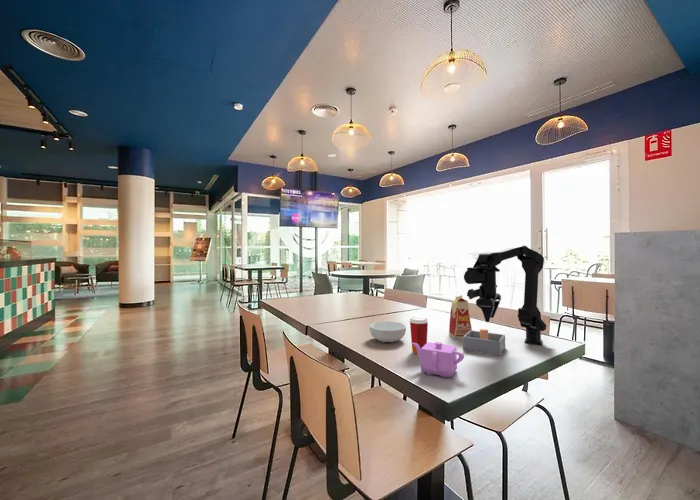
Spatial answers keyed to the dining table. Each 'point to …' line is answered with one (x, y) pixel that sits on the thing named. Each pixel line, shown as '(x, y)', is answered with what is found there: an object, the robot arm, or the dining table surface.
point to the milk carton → (459, 318)
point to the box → (484, 343)
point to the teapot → (439, 358)
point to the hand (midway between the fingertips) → (489, 319)
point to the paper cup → (418, 331)
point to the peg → (484, 334)
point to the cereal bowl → (387, 331)
